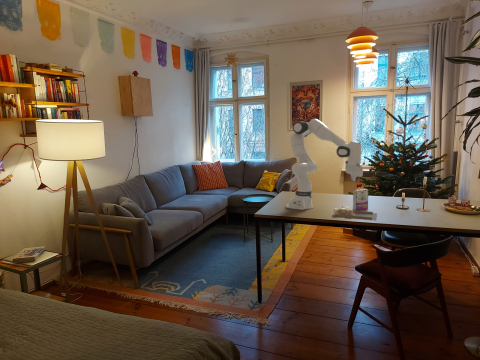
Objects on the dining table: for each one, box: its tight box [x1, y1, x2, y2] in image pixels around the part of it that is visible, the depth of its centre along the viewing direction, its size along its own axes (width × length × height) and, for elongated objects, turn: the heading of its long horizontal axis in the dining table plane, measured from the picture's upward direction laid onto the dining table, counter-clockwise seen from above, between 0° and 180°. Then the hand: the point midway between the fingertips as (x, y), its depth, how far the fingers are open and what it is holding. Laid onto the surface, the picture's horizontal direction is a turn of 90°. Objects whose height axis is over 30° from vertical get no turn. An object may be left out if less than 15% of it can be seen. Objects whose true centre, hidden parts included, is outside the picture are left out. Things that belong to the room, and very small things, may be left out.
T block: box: [333, 205, 354, 216], centre depth 255 cm, size 12×12×5 cm
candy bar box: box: [352, 188, 369, 211], centre depth 269 cm, size 11×5×16 cm, turn 105°
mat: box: [332, 209, 378, 221], centre depth 253 cm, size 30×20×2 cm, turn 66°
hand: (353, 180), depth 256 cm, fingers closed
